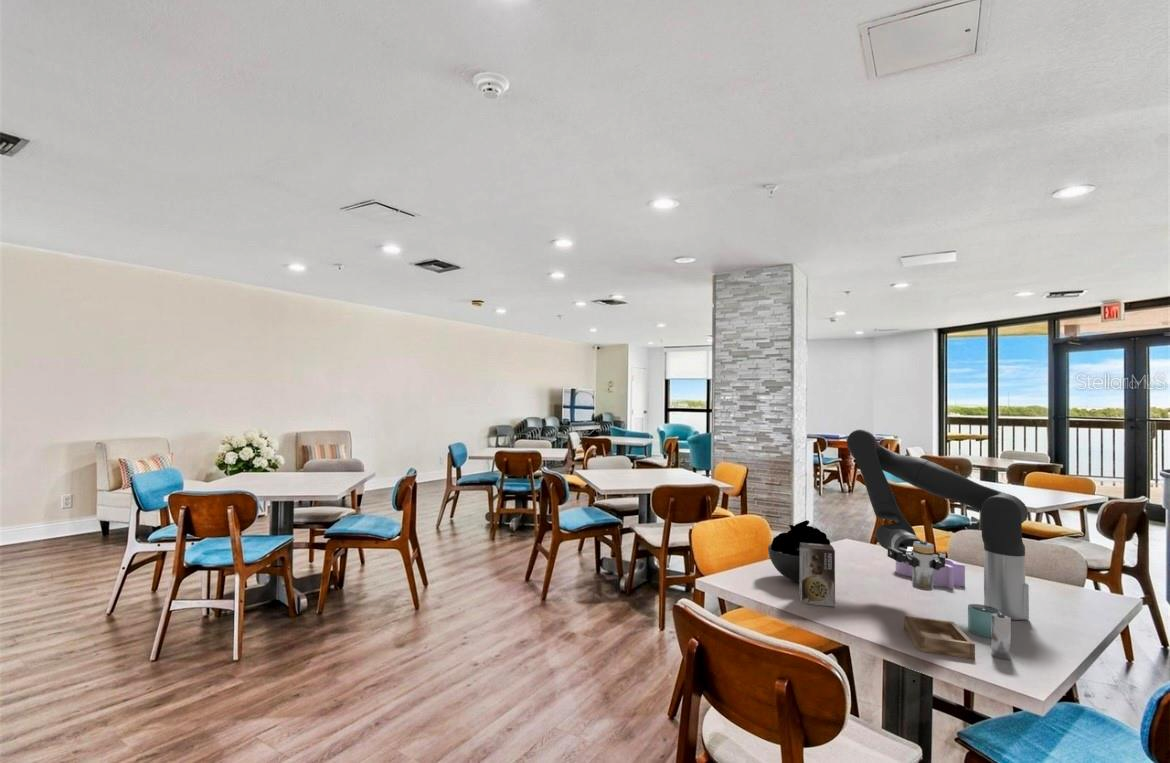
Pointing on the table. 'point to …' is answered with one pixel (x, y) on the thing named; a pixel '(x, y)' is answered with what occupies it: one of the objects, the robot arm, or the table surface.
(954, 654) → the brown wooden tray
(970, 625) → the cup
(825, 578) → the coffee box
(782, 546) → the coal bowl
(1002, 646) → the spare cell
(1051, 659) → the table surface
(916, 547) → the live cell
